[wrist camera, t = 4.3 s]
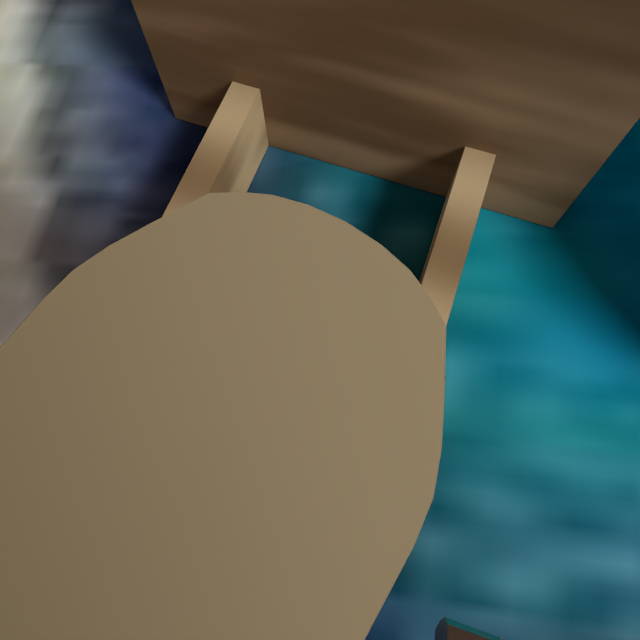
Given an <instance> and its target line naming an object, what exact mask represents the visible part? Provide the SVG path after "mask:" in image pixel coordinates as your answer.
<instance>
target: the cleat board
mask: <svg viewBox="0 0 640 640" xmlns="http://www.w3.org/2000/svg"><path fill="white" fill-rule="evenodd" d="M131 1H132V4H133V6H134V9H135V12H136V14H137V17H138V20H139V22H140V25H141V28H142V30H143V33H144V36H145V38H146V41H147V44H148V46H149V49H150V51H151V54H152V57H153V59H154V62H155V65H156V67H157V70H158V73H159V75H160V78H161V81H162V83H163V86H164V89H165V91H166V94H167V96H168V99H169V102H170V104H171V107H172V110H173V112H174V115H175V118H177V119H180V120H184V121H187V122H191V123H194V124H198V125H201V126H204V127H208V129H207V131H206V133H205V135H204V137H203V139H202V141H201V143H200V145H199V147H198V149H197V151H196V152H195V154H194V156H193V158H192V160H191V162H190V164H189V166H188V168H187V170H186V172H185V174H184V176H183V177H182V179H181V181H180V183H179V185H178V187H177V189H176V191H175V193H174V195H173V197H172V199H171V201H170V202H169V204H168V206H167V208H166V210H165V212H164V214H163V216H162V217H164V216H166V215H167V214H169V213H171V212H173V211H175V210H177V209H179V208H181V207H183V206H185V205H187V204H189V203H191V202H193V201H195V200H197V199H199V198H201V197H203V196H205V195H207V194H209V193H225V192H247V190H248V188H249V186H250V184H251V182H252V180H253V177H254V175H255V173H256V171H257V169H258V167H259V165H260V163H261V160H262V158H263V156H264V154H265V152H266V150H267V148H268V145H269V146H273V147H276V148H280V149H283V150H287V151H290V152H293V153H297V154H300V155H304V156H307V157H310V158H314V159H317V160H321V161H324V162H328V163H331V164H334V165H338V166H341V167H345V168H348V169H352V170H355V171H358V172H362V173H365V174H369V175H372V176H376V177H379V178H382V179H386V180H389V181H393V182H396V183H399V184H403V185H406V186H410V187H413V188H417V189H420V190H423V191H427V192H430V193H434V194H437V195H441V196H444V197H446V199H445V202H444V206H443V209H442V212H441V215H440V218H439V221H438V224H437V227H436V231H435V234H434V237H433V240H432V243H431V246H430V249H429V252H428V256H427V259H426V262H425V265H424V268H423V271H422V274H421V277H420V281H419V283H420V284H421V285H422V287H423V288H424V289H425V291H426V292H427V293H428V295H429V296H430V297H431V299H432V301H433V303H434V305H435V306H436V308H437V310H438V312H439V314H440V315H441V317H442V319H443V321H444V323H445V324H446V325H447V321H448V318H449V314H450V311H451V308H452V304H453V301H454V297H455V294H456V291H457V287H458V284H459V280H460V277H461V273H462V270H463V267H464V263H465V260H466V256H467V253H468V250H469V246H470V243H471V239H472V236H473V232H474V229H475V226H476V222H477V219H478V215H479V212H480V208H481V207H482V208H485V209H488V210H492V211H495V212H499V213H502V214H506V215H509V216H512V217H516V218H519V219H523V220H526V221H530V222H533V223H536V224H540V225H543V226H547V227H550V228H553V227H554V226H555V224H556V223H557V222H558V220H559V219H560V218H561V217H562V215H563V214H564V213H565V212H566V210H567V209H568V208H569V207H570V205H571V204H572V203H573V202H574V200H575V199H576V198H577V196H578V195H579V194H580V193H581V191H582V190H583V189H584V188H585V186H586V185H587V184H588V183H589V181H590V180H591V179H592V177H593V176H594V175H595V174H596V172H597V171H598V170H599V169H600V167H601V166H602V165H603V164H604V162H605V161H606V160H607V159H608V157H609V156H610V155H611V153H612V152H613V151H614V150H615V148H616V147H617V146H618V145H619V143H620V142H621V141H622V140H623V138H624V137H625V136H626V134H627V133H628V132H629V131H630V129H631V128H632V127H633V126H634V124H635V123H636V122H637V121H638V119H639V118H640V0H131Z"/></svg>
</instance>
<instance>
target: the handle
mask: <svg viewBox="0 0 640 640" xmlns="http://www.w3.org/2000/svg"><path fill="white" fill-rule="evenodd" d="M445 357H446V324H445V323H444V321H443V319H442V317H441V315H440V314H439V312H438V310H437V308H436V306H435V305H434V303H433V301H432V299H431V297H430V296H429V295H428V293H427V292H426V291H425V289H424V288H423V287H422V285H421V284H420V283H419V281H418V280H417V279H416V277H415V276H414V275H413V273H412V272H411V271H410V269H408V268H407V267H406V266H405V265H404V264H403V263H402V262H400V261H399V260H398V259H397V258H396V257H395V256H394V255H393V254H391V253H390V252H389V251H388V250H387V249H386V248H385V247H383V246H382V245H381V244H380V243H378V242H377V241H375V240H374V239H372V238H370V237H369V236H367V235H366V234H364V233H363V232H361V231H360V230H358V229H356V228H355V227H353V226H352V225H350V224H349V223H347V222H345V221H343V220H341V219H339V218H336V217H334V216H332V215H330V214H328V213H325V212H323V211H321V210H319V209H316V208H314V207H312V206H310V205H307V204H303V203H300V202H296V201H293V200H289V199H286V198H282V197H279V196H275V195H269V194H257V193H246V192H225V193H209V194H207V195H205V196H203V197H201V198H199V199H197V200H195V201H193V202H191V203H189V204H187V205H185V206H183V207H181V208H179V209H177V210H175V211H173V212H171V213H169V214H167V215H166V216H164V217H162V218H160V219H158V220H156V221H154V222H152V223H150V224H148V225H146V226H144V227H143V228H141V229H139V230H137V231H135V232H133V233H132V234H130V235H128V236H126V237H124V238H122V239H120V240H119V241H117V242H115V243H113V244H111V245H109V246H108V247H106V248H105V249H103V250H102V251H100V252H99V253H97V254H96V255H94V256H93V257H92V258H90V259H89V260H87V261H86V262H84V263H83V264H81V265H80V266H78V267H77V268H75V269H74V270H73V271H72V272H70V273H69V274H68V275H67V276H66V277H65V278H64V279H63V280H62V281H61V282H60V283H59V284H58V285H57V286H56V287H55V288H54V289H53V290H52V291H51V292H50V293H49V294H48V295H47V296H46V297H45V298H44V299H43V300H42V301H41V302H40V303H39V304H38V305H37V306H36V308H35V309H34V310H33V311H32V312H31V313H30V314H29V316H28V317H27V318H26V319H25V320H24V321H23V323H22V324H21V325H20V326H19V327H18V328H17V329H16V331H15V332H14V333H13V334H12V335H11V336H10V338H9V339H8V340H7V341H6V342H5V343H4V345H3V346H2V347H1V348H0V640H365V638H366V636H367V634H368V632H369V630H370V628H371V626H372V624H373V623H374V621H375V619H376V617H377V615H378V613H379V611H380V609H381V607H382V606H383V604H384V602H385V600H386V598H387V596H388V594H389V592H390V590H391V588H392V587H393V585H394V583H395V581H396V579H397V577H398V575H399V573H400V571H401V570H402V568H403V566H404V564H405V562H406V560H407V558H408V556H409V554H410V552H411V551H412V549H413V547H414V545H415V542H416V540H417V537H418V535H419V532H420V530H421V527H422V525H423V522H424V520H425V517H426V515H427V512H428V510H429V507H430V505H431V502H432V500H433V496H434V491H435V485H436V479H437V473H438V467H439V461H440V456H441V450H442V433H443V414H444V396H445Z"/></svg>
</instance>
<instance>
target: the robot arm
mask: <svg viewBox="0 0 640 640" xmlns="http://www.w3.org/2000/svg"><path fill="white" fill-rule="evenodd" d="M435 640H503V639H500V638H499V637H497V636H494V635H492V634H489V633H486V632H484V631H481V630H478V629H476V628H473V627H470V626H468V625H465V624H462V623H459V622H457V621H454V620H451V619H449V618H446V617H444V618H443V619H442V620H440V622H439V624H438V626H437V628H436V631H435Z"/></svg>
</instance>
